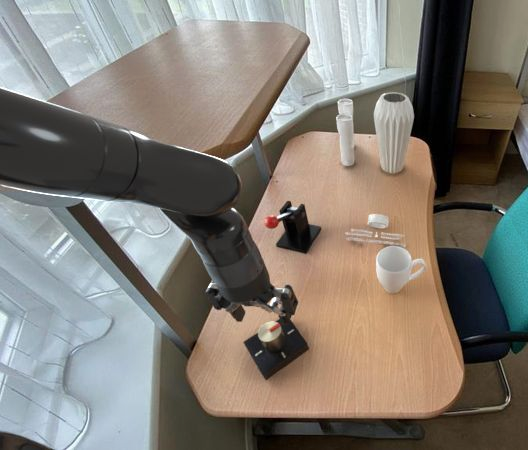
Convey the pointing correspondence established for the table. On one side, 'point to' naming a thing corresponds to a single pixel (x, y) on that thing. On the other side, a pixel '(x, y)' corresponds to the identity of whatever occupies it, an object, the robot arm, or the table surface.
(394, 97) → the vase
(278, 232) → the table surface
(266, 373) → the dial panel
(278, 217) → the red knob lever
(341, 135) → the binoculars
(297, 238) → the lever bracket
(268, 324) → the dial
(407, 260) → the mug
